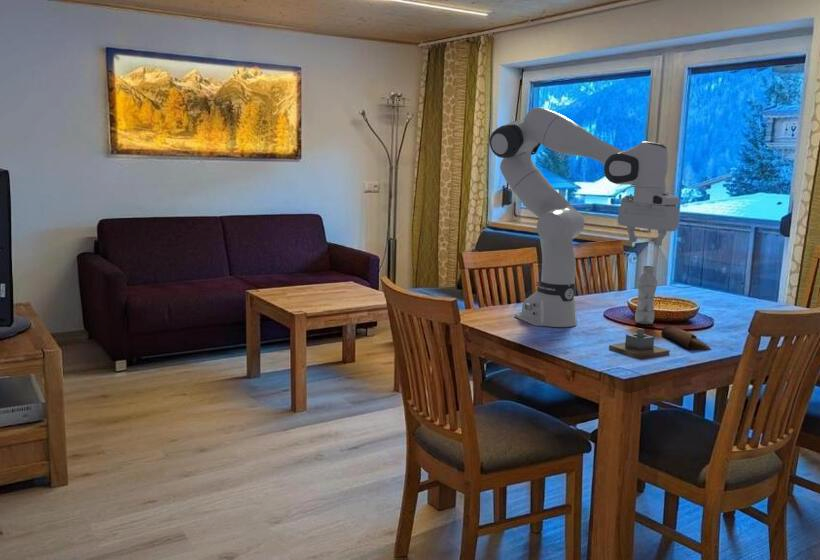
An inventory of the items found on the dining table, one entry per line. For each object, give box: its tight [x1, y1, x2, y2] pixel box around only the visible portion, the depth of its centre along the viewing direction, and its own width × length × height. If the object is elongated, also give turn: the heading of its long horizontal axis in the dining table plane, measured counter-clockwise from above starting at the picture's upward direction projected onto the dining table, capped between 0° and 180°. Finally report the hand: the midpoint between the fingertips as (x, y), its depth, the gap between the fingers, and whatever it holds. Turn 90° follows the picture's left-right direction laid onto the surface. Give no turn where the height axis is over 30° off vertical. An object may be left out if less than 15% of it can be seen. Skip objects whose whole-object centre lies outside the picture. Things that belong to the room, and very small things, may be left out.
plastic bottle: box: [634, 265, 658, 325], centre depth 246 cm, size 6×7×20 cm
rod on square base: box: [608, 327, 670, 360], centre depth 210 cm, size 12×12×7 cm
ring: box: [624, 332, 655, 351], centre depth 210 cm, size 6×6×4 cm
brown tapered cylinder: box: [660, 325, 712, 351], centre depth 223 cm, size 18×7×7 cm
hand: (644, 243), depth 215 cm, fingers open, 8 cm apart
